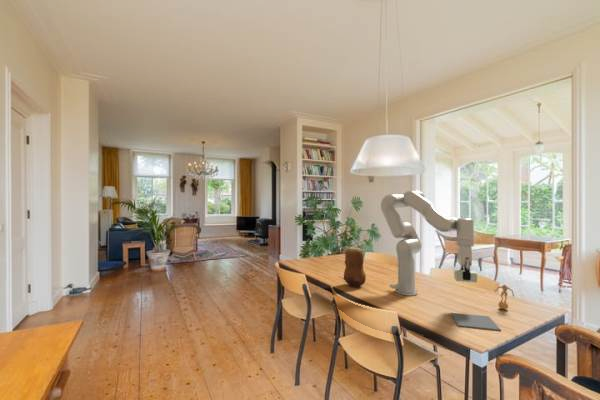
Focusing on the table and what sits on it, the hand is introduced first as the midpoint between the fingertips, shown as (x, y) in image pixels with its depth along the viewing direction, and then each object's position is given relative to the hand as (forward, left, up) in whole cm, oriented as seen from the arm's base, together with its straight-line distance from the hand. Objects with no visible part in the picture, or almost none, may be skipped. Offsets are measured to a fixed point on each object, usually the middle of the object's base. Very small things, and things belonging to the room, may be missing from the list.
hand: (465, 277), depth 142 cm
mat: (-1, -17, -15) cm, 23 cm away
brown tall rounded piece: (-58, +23, -16) cm, 64 cm away
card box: (0, 0, -1) cm, 1 cm away
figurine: (+18, +4, -16) cm, 24 cm away
